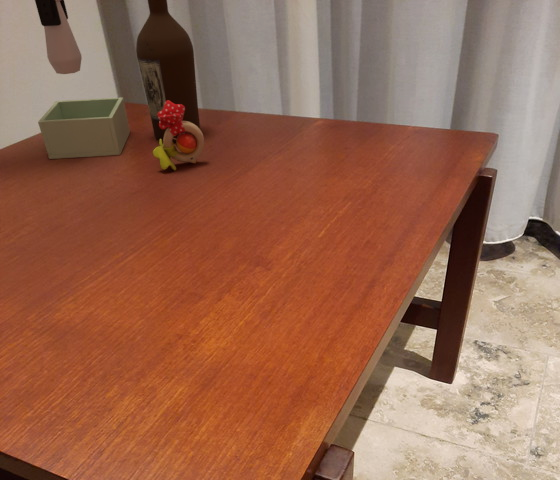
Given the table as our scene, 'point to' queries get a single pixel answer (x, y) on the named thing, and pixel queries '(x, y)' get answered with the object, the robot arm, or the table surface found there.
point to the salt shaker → (62, 46)
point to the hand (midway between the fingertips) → (55, 21)
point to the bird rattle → (186, 141)
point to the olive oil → (167, 66)
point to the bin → (85, 128)
